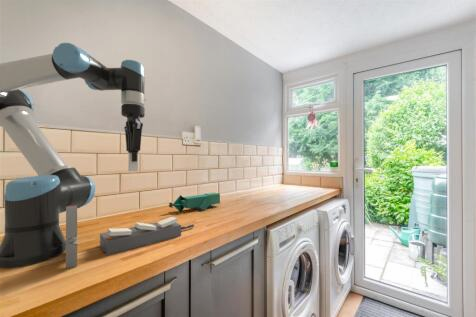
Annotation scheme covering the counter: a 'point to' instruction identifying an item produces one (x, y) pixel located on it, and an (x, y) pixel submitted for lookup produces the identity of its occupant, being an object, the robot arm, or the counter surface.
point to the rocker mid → (145, 226)
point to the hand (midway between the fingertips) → (133, 170)
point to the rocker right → (167, 222)
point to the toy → (196, 201)
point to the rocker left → (119, 231)
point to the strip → (139, 238)
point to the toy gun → (71, 236)
